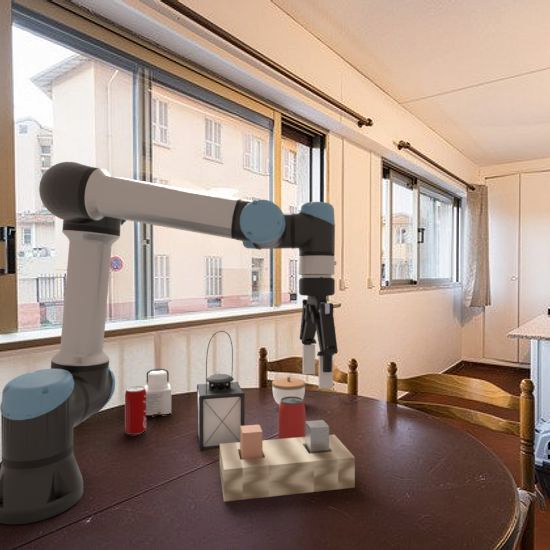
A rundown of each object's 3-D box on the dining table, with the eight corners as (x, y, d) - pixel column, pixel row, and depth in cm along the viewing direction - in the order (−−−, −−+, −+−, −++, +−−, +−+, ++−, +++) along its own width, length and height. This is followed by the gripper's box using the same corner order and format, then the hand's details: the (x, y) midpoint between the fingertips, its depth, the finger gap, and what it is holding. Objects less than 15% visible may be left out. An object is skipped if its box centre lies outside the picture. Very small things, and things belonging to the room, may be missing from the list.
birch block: (223, 501, 77) (223, 469, 77) (219, 471, 89) (219, 443, 89) (354, 487, 83) (354, 457, 83) (334, 460, 94) (334, 434, 94)
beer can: (303, 455, 97) (303, 404, 97) (276, 453, 98) (276, 402, 98) (307, 444, 103) (307, 396, 103) (281, 442, 105) (281, 394, 105)
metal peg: (310, 457, 85) (310, 428, 85) (305, 449, 89) (305, 421, 89) (329, 455, 86) (329, 426, 86) (323, 447, 90) (323, 419, 90)
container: (144, 409, 130) (144, 368, 130) (169, 407, 132) (169, 366, 132) (144, 417, 123) (144, 373, 123) (171, 415, 125) (171, 372, 125)
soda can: (147, 434, 110) (147, 389, 110) (125, 437, 108) (125, 391, 108) (145, 426, 115) (145, 383, 115) (124, 429, 113) (124, 385, 113)
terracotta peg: (242, 463, 82) (242, 433, 82) (240, 454, 86) (240, 425, 86) (262, 461, 83) (262, 431, 83) (259, 453, 87) (259, 424, 87)
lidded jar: (311, 404, 135) (311, 375, 135) (294, 413, 126) (294, 382, 126) (282, 398, 141) (282, 371, 141) (265, 407, 132) (265, 378, 132)
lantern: (238, 430, 113) (238, 327, 113) (245, 446, 102) (244, 333, 102) (196, 434, 110) (196, 329, 110) (199, 451, 99) (198, 334, 99)
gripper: (355, 277, 77) (355, 395, 77) (316, 276, 100) (316, 367, 100) (316, 277, 75) (316, 397, 75) (286, 276, 98) (286, 368, 98)
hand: (316, 380), depth 87 cm, fingers open, 11 cm apart
